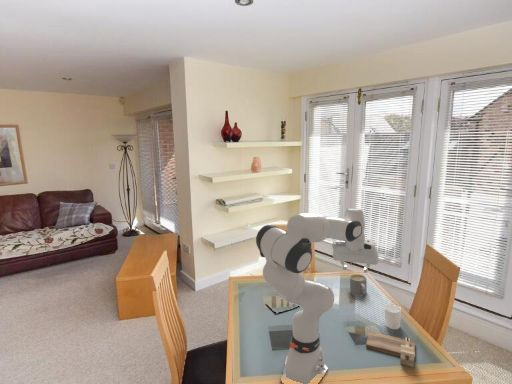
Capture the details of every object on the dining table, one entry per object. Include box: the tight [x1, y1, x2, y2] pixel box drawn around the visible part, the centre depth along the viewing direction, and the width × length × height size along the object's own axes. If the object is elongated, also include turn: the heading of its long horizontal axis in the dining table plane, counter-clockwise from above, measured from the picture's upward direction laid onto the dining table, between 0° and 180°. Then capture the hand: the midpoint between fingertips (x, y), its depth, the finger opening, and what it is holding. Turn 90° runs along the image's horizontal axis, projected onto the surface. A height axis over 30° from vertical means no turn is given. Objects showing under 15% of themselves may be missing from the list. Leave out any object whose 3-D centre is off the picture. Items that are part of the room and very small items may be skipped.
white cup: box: [383, 304, 402, 330], centre depth 149 cm, size 8×8×10 cm
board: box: [365, 330, 416, 361], centre depth 134 cm, size 11×20×2 cm, turn 62°
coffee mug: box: [349, 273, 368, 297], centre depth 184 cm, size 13×10×10 cm
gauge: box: [400, 337, 415, 368], centre depth 128 cm, size 16×5×6 cm, turn 152°
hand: (355, 270), depth 136 cm, fingers open, 8 cm apart
